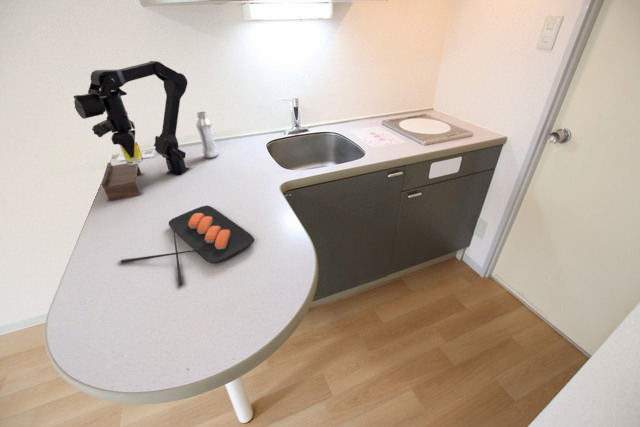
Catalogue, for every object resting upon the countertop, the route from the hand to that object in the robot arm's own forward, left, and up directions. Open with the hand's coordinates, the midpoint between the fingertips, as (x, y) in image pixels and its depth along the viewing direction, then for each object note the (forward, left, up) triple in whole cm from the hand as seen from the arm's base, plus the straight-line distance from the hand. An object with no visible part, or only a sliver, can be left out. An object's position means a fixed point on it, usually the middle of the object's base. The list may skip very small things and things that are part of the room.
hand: (132, 154), depth 113 cm
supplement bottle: (0, 0, -3) cm, 3 cm away
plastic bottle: (-9, -32, -13) cm, 36 cm away
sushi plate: (-40, +28, -13) cm, 50 cm away
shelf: (+7, +2, -13) cm, 15 cm away
